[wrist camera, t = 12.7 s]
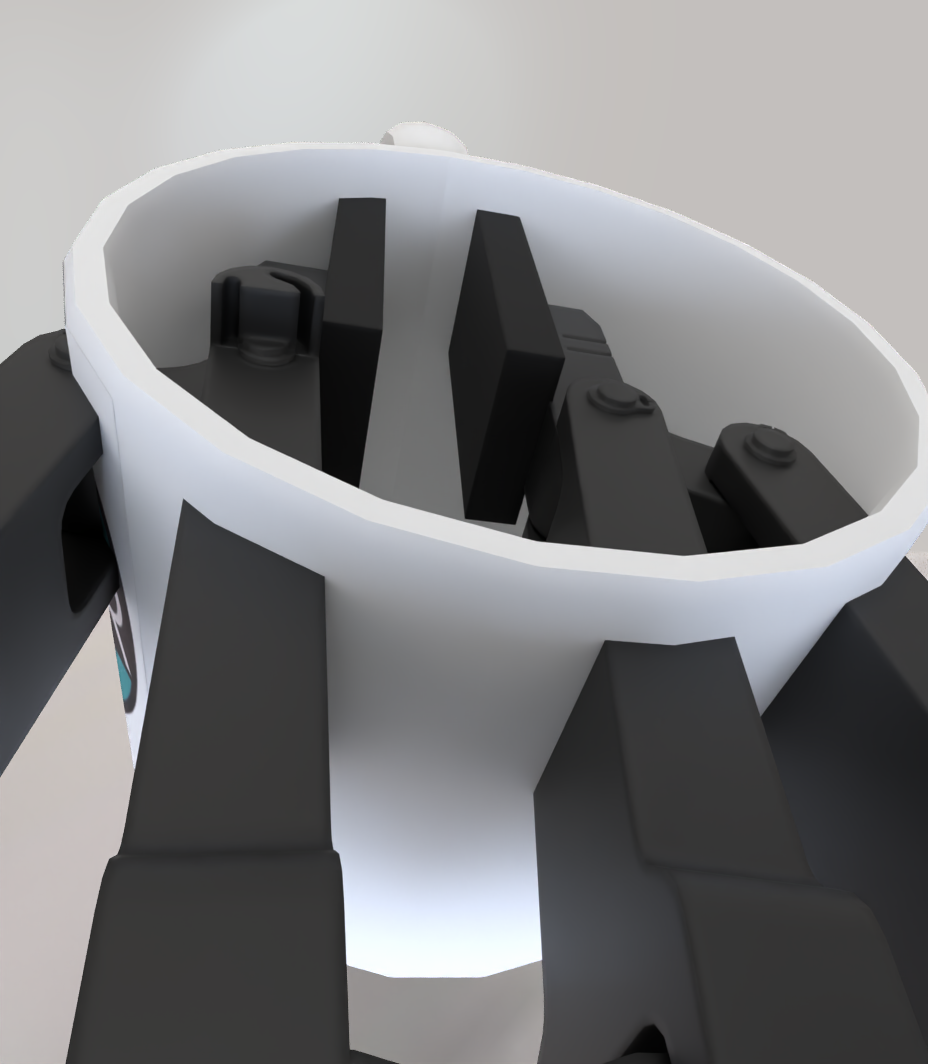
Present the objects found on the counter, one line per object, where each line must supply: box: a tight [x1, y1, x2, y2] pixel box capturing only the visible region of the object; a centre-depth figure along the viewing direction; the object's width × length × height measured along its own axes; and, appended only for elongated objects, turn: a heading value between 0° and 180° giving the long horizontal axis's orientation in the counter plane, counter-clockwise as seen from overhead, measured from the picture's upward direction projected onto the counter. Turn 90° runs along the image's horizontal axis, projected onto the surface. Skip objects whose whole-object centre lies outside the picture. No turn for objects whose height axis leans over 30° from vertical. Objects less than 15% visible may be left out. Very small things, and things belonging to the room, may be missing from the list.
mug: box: [63, 122, 928, 978], centre depth 14 cm, size 13×10×8 cm
